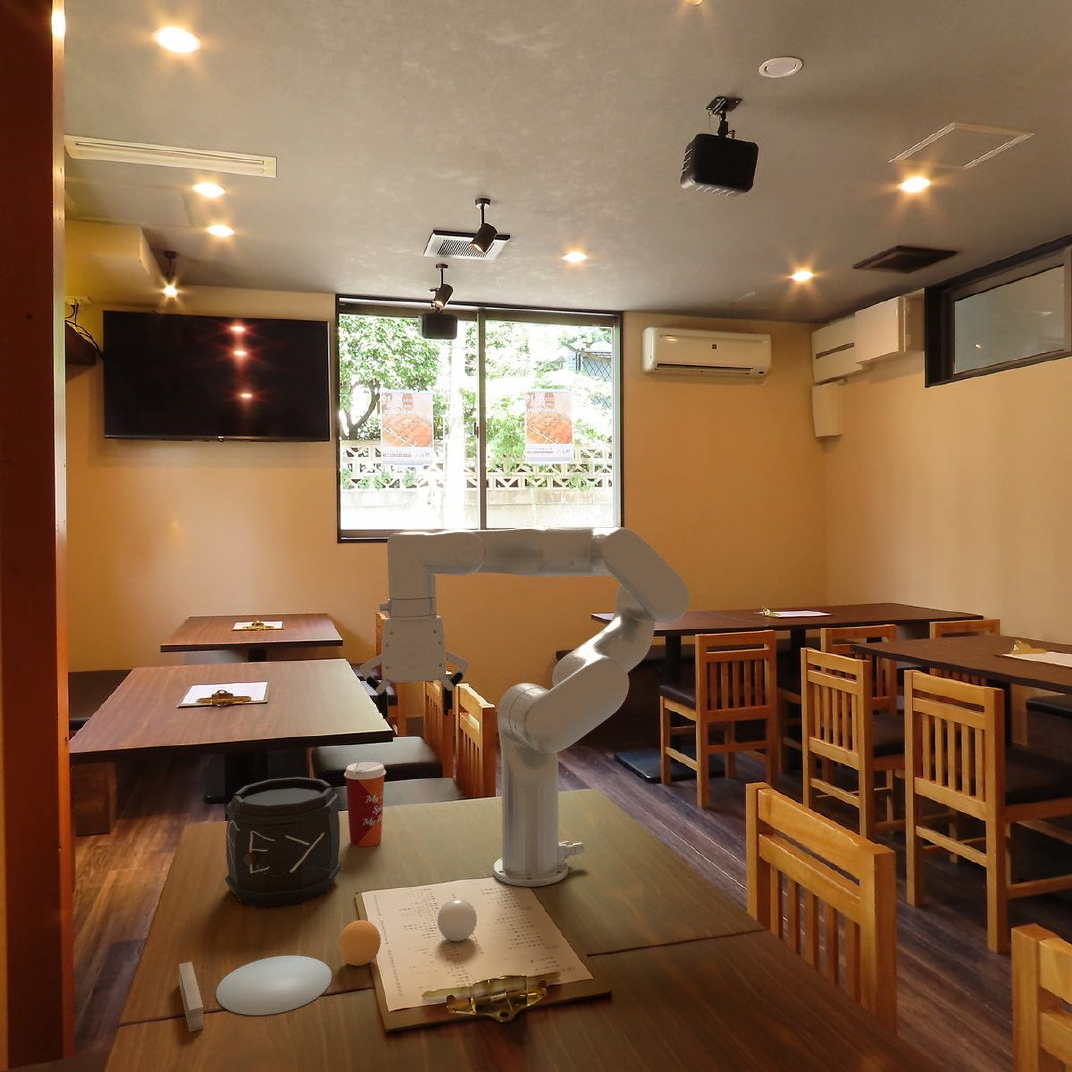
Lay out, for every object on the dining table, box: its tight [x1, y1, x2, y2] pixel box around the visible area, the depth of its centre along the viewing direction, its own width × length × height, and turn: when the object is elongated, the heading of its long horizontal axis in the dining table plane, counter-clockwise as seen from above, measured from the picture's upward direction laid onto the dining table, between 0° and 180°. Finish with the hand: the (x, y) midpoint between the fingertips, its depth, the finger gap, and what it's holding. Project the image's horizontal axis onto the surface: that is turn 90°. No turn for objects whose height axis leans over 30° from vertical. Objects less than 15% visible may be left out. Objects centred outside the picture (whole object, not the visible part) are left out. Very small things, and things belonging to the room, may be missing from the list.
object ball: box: [338, 919, 382, 967], centre depth 114 cm, size 6×6×6 cm
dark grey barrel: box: [224, 776, 342, 909], centre depth 138 cm, size 18×18×16 cm
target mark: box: [215, 955, 333, 1016], centre depth 108 cm, size 14×14×1 cm
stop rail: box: [178, 961, 204, 1033], centre depth 104 cm, size 2×12×2 cm, turn 28°
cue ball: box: [437, 898, 478, 942], centre depth 120 cm, size 6×6×6 cm
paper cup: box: [343, 761, 387, 848], centre depth 159 cm, size 8×8×14 cm
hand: (416, 715), depth 137 cm, fingers open, 9 cm apart
